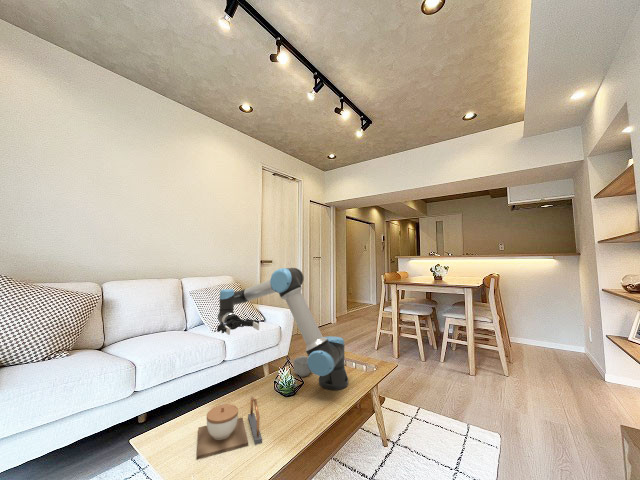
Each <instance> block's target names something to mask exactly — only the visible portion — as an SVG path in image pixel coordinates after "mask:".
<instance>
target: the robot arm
mask: <svg viewBox="0 0 640 480" xmlns="http://www.w3.org/2000/svg"><path fill="white" fill-rule="evenodd" d="M270 276H271V277H270V278H269V280H266V281H264V282H261V283H258V284H256V285H253V286H252V285H251V286H250V287H247V288H243V289H242V290H241V289H240V290H237V291H235V290H234V289H233V288H224V289H221V290H220V291H219V297H218V299H219V311H218V314H217V320H218V322H219V324H218V325H217V328H216V329H217V330H216V331H217V333H220V332H221V334H224V333H226V334H227V335H228V336H229V335H231V330H232V331H233V330H236V329H237V328H243V327H252V328H253V329H254V330H257V331H260V320H257V319H249V318H245V319H241V318H240V316H239V315H237V314H235V313H234V312H235V311H234V307H235V305H238V304H239V305H240V304H244V303H247V302H249V301H253V300H257V299H258V298H261V297H265V296H268V295H272V294H274V293H278V295H279V297H280V299H282V300H284V301H285V302H286V305H287V306H288V309H289V311H290V313H291V316H292V317H293V319H294V322H295V323H296V325H297V327H298V330H299V333H301V337H302V338H303V340H304V342H305V345H306V348H305V353H306V354H307V357H308V361H307V363H308V367H309V369H310V370H311V373H312V374H313V375H316V376H317V377H318V385H319V386H320V387H321V388H323V389H325V390H330V391H338V390H343V389H345V388H347V387H348V386H349V378H348V374H347V371H346V368H345V365H346V364H345V361H346V359H345V339H344V338H342V337H340V336H335V335H334V336H332V335H331V336H327V335H326V336H323V335H322V332H321V331H320V329H319V326H318V324H317V322H316V320H315V318H314V316H313V314H312V312H311V310H310V308H309V305H308V304H307V302H306V300H305V297H304V295H303V293H302V289H303V286H302V285H303V283H304V280H305V277H304V274H303V272H302V271H301V270H300V269H299V268H297V267H281V268H278V269H276V270H274V271H273V273H272V274H271V275H270ZM347 385H348V386H347ZM346 386H347V387H346Z"/></svg>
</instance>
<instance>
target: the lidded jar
mask: <svg viewBox="0 0 640 480" xmlns="http://www.w3.org/2000/svg"><path fill="white" fill-rule="evenodd" d="M238 416H239V408H238V407H237V406H236V405H235V404H232V403H229V404H228V403H226V404H218V405H216V406H214V407H213V408H211V409H209V410H208V411H207V413H206V426H207V429H208V432H209V434H210V435H211V436H212V437H213V438H214V439H216V440H223V439H226V438H227V437H229V436H230V435H231V433H232V432H233V431H234V429H235V427H236V424H237V419H238V418H239V417H238Z"/></svg>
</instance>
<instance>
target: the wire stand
mask: <svg viewBox="0 0 640 480" xmlns="http://www.w3.org/2000/svg"><path fill="white" fill-rule="evenodd" d="M247 420H248V423H249V426H250V430H251V434H252V439H253V442H254V445H255V446H256V445H259V444H262V443H263V436H262V433H261V430H260V429H259V436H258V437H257V436H256V429H257V416H256V413H254V412H253V415H251V414H250V413H249V414H247Z"/></svg>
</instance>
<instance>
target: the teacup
mask: <svg viewBox="0 0 640 480" xmlns="http://www.w3.org/2000/svg"><path fill="white" fill-rule="evenodd" d="M307 361H308V356H306V355H302V356H298V357H296V358H294V359H293V360H292V363H293V372H294V374H295V375H297V374H298V375H299V376H298V375H297V376H298V377H307V376H309V375H310V374H311V373H312V372H311V370H310V369H309V367H308V363H307Z"/></svg>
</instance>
